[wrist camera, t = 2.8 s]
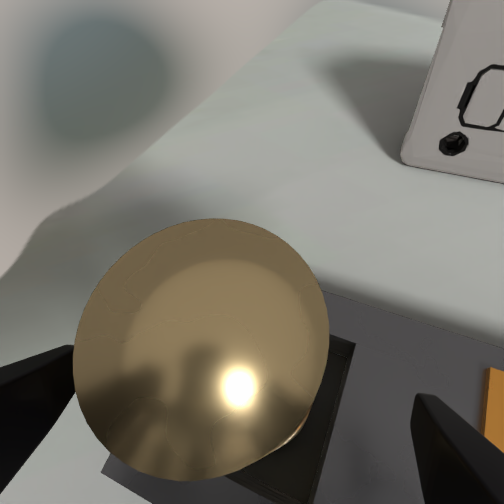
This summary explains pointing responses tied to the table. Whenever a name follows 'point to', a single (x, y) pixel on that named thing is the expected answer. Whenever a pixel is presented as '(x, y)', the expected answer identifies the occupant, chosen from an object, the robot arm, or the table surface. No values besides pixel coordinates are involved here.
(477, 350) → the grey peg board
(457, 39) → the electrical switch
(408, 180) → the table surface
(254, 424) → the brass pin
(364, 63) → the table surface
